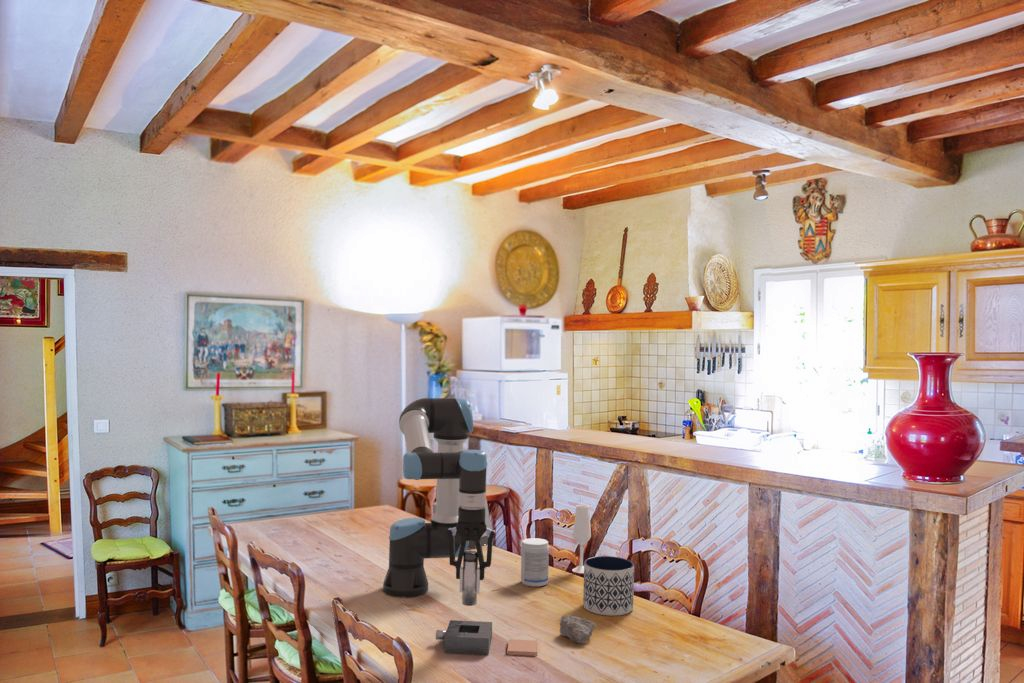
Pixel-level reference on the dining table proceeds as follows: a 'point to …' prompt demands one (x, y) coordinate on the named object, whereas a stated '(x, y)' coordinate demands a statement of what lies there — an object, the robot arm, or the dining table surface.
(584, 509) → the champagne flute
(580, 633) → the stone
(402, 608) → the dining table surface
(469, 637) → the block
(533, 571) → the supplement tub
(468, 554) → the grey tall cylinder
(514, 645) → the coaster
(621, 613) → the planter
